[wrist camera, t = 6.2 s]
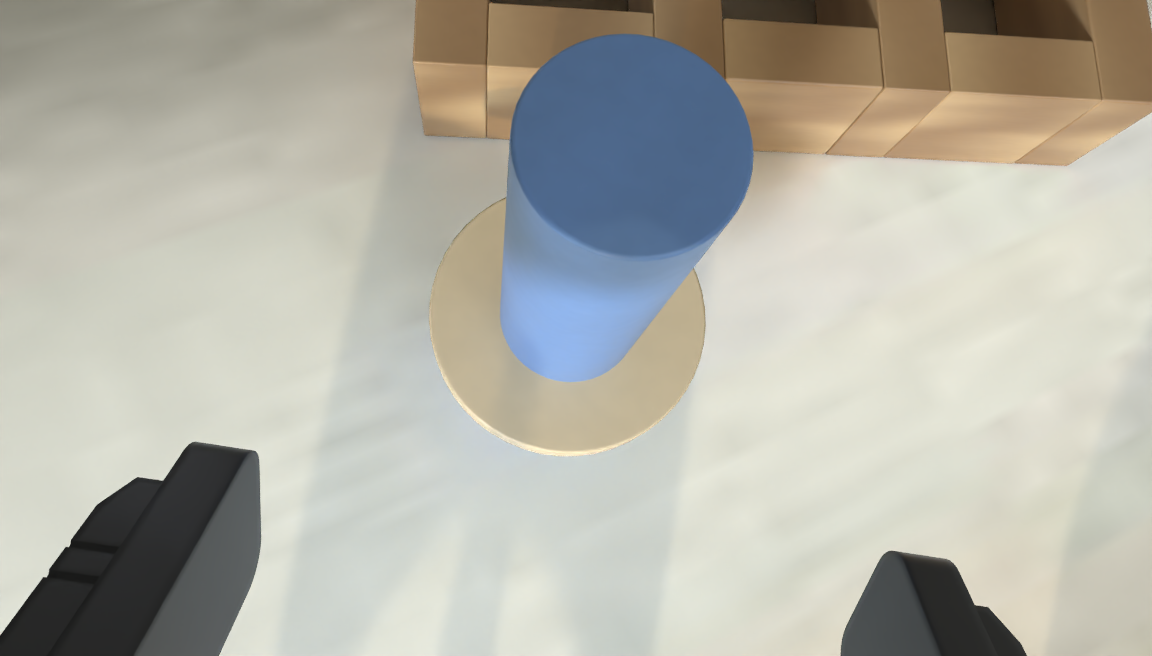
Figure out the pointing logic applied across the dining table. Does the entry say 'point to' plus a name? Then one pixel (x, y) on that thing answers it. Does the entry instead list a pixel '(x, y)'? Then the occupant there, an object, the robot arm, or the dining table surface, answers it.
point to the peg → (593, 248)
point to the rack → (830, 72)
